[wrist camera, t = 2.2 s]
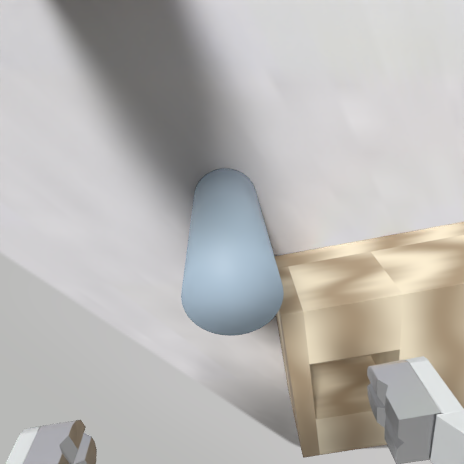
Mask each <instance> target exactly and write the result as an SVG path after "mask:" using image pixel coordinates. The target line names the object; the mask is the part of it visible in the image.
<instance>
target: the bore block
mask: <svg viewBox="0 0 464 464" xmlns="http://www.w3.org/2000/svg"><path fill="white" fill-rule="evenodd" d="M274 257H275V260H276V264H277V267H278V271H279V274H280V278H281V281H282V285H283V293H284V294H283V301H282V305H281V307H280V309H279V311H278V312H277V314H276V318H277V324H278V330H279V336H280V342H281V348H282V354H283V360H284V366H285V372H286V378H287V385H288V390H289V395H290V399H291V404H292V408H293V413H294V418H295V422H296V427H297V431H298V436H299V441H300V445H301V450H302V454H303V457H310V456H315V455H323V454H329V453H335V452H342V451H348V450H355V449H361V448H368V447H374V446H381V445H387V443H386V441H385V439H384V438H385V428H384V427H383V426H381V425H380V424H379V423H377V421H376V419H375V417H374V414H373V412H372V409H371V406H370V403H369V398H368V390H367V386H368V385H369V384H370V383H371V382H370V380H369V378H368V376H367V369H368V367H369V366H373V365H378V364H383V363H388V362H393V361H398V360H406V359H411V358H416V357H421V356H424V357H425V358H427V359H428V360H429V362H430V363H431V364H432V366H433V367H434V368H435V370H436V371H437V373H438V374H439V375H440V377H441V378H442V379H443V381H444V382H445V384H446V385H447V386H448V388H449V389H450V390H451V392H452V393H453V395H454V396H455V397H456V399H457V400H458V401H459V403H460V404H461V406H462V407H463V408H464V222H461V223H456V224H450V225H445V226H439V227H434V228H428V229H423V230H417V231H412V232H406V233H401V234H395V235H390V236H384V237H379V238H373V239H368V240H362V241H357V242H351V243H346V244H340V245H335V246H329V247H324V248H318V249H313V250H307V251H302V252H296V253H291V254H285V255H280V256H274Z"/></svg>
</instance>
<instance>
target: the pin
mask: <svg viewBox="0 0 464 464" xmlns="http://www.w3.org/2000/svg"><path fill="white" fill-rule="evenodd" d="M283 294H284V293H283V285H282V281H281V278H280V274H279V271H278V267H277V264H276V260H275V257H274V254H273V250H272V247H271V243H270V240H269V236H268V233H267V229H266V226H265V222H264V219H263V215H262V212H261V208H260V205H259V201H258V198H257V194H256V191H255V188H254V185H253V183H252V182H251V181H250V179H249V178H248V177H247V176H246V175H244V174H243V173H241V172H239V171H237V170H233V169H218V170H214V171H212V172H210V173H208V174H207V175H205V176H204V177H203V178H202V179H201V180H200V181H199V183H198V184H197V186H196V189H195V193H194V200H193V208H192V215H191V223H190V231H189V239H188V247H187V254H186V262H185V270H184V278H183V286H182V294H181V298H182V304H183V308H184V310H185V312H186V314H187V315H188V317H189V318H190V319H191V320H192V321H193V322H194V323H195V324H196V325H198V326H199V327H201V328H202V329H204V330H206V331H209V332H212V333H215V334H220V335H242V334H246V333H250V332H253V331H255V330H257V329H259V328H261V327H263V326H264V325H266V324H267V323H268V322H270V321H271V320H272V319H273V318H274V316H275V315H276V314H277V312H278V311H279V309H280V307H281V305H282V301H283Z"/></svg>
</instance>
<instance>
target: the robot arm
mask: <svg viewBox="0 0 464 464" xmlns="http://www.w3.org/2000/svg"><path fill="white" fill-rule="evenodd" d="M367 376H368V378H369V380H370V382H371V383H370V384H369V385H368V386H367V390H368V398H369V403H370V406H371V409H372V412H373V414H374V417H375V419H376V421H377V423H379V424H380V425H381V426H383V427H384V428H385V438H384V439H385V441H386V443H387V445H388V447H389V449H390V451H391V454H392V455H393V458H394V460H395V462H396V464H401V463H408V462H415V461H423V460H430V461H431V463H433V464H464V408H463V407H462V406H461V404H460V403H459V401H458V400H457V399H456V397H455V396H454V395H453V393H452V392H451V390H450V389H449V388H448V386H447V385H446V384H445V382H444V381H443V379H442V378H441V377H440V375H439V374H438V373H437V371H436V370H435V368H434V367H433V366H432V364H431V363H430V362H429V360H428V359H427V358H425V357H424V356H421V357H416V358H411V359H406V360H398V361H393V362H388V363H383V364H378V365H373V366H369V367H368V369H367ZM84 430H85V426H84V424H83V422H82V421H81V420H76V421H71V422H64V423H57V424H51V425H45V426H38V427H33V428H27V429H25V430H24V431H23V432H22V433H21V434H20V435H19V437H18V439H17V441H16V443H15V445H14V447H13V449H12V451H11V453H10V455H9V457H8V459H7V461H6V463H5V464H96V446H95V442H94V440H93V438H92V437H91V436H89V435H87V434H85V433H84Z"/></svg>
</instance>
